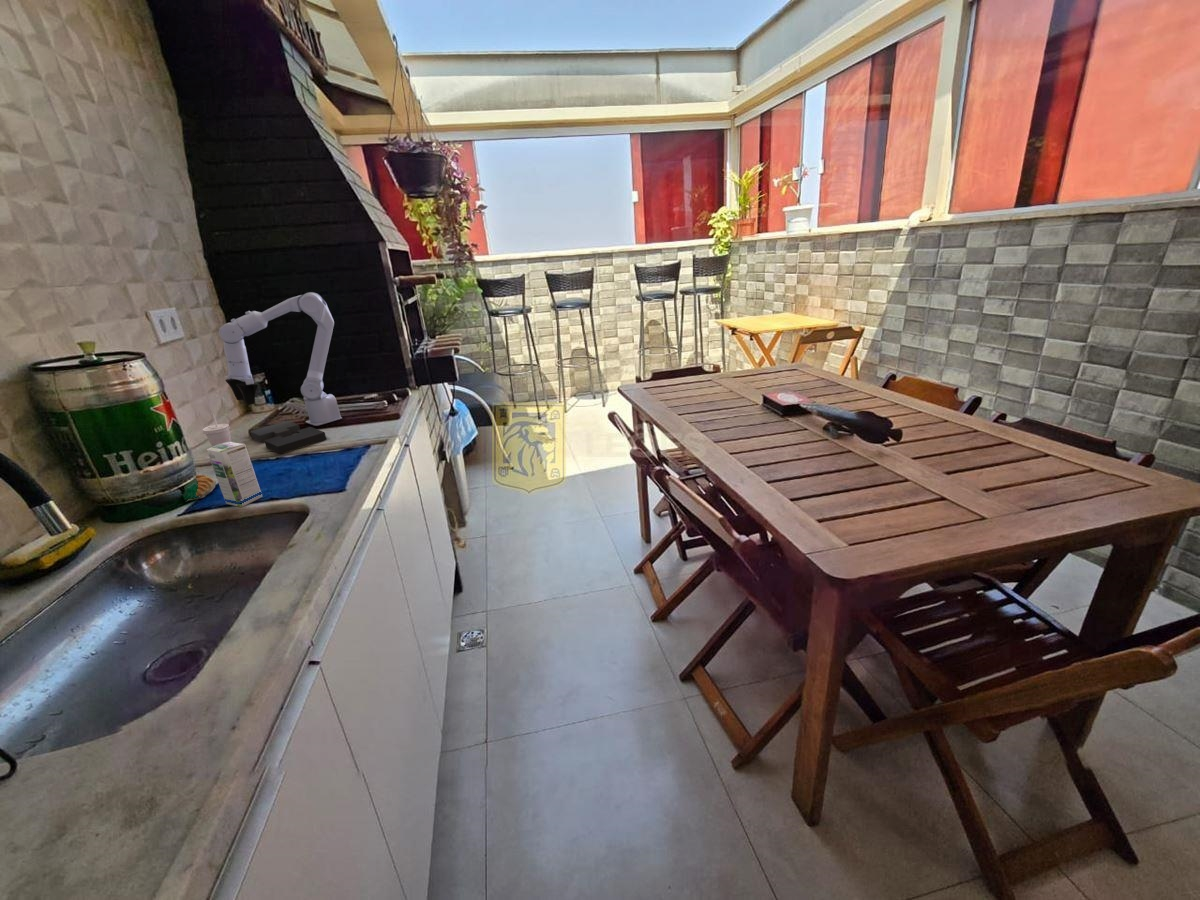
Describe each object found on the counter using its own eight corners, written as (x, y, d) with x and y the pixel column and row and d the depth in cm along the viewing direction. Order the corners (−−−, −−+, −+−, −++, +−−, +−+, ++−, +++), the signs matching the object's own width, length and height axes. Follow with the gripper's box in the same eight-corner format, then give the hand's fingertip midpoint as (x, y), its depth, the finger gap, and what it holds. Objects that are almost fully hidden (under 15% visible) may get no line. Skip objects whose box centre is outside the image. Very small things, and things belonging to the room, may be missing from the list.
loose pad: (290, 427, 169) (288, 420, 168) (304, 432, 163) (302, 425, 162) (251, 438, 161) (249, 431, 160) (265, 444, 155) (263, 437, 154)
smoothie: (229, 461, 143) (212, 416, 137) (208, 462, 143) (190, 417, 138) (244, 452, 149) (229, 409, 143) (224, 453, 149) (207, 409, 144)
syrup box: (225, 504, 118) (203, 449, 112) (249, 493, 123) (229, 440, 117) (240, 508, 116) (219, 452, 110) (264, 496, 121) (245, 442, 115)
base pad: (312, 433, 162) (310, 426, 161) (326, 439, 157) (324, 432, 156) (266, 447, 152) (263, 440, 151) (280, 454, 146) (277, 446, 146)
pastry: (209, 499, 121) (204, 485, 119) (176, 506, 118) (170, 492, 117) (218, 484, 129) (213, 471, 127) (187, 490, 126) (181, 477, 125)
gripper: (214, 359, 158) (222, 399, 163) (232, 366, 151) (240, 408, 155) (239, 356, 164) (247, 396, 168) (257, 363, 156) (265, 404, 161)
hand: (245, 401), depth 162 cm, fingers open, 7 cm apart
